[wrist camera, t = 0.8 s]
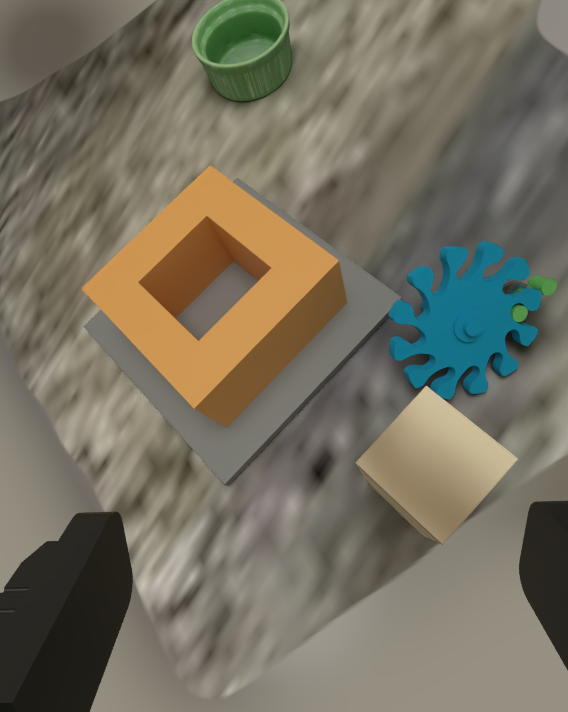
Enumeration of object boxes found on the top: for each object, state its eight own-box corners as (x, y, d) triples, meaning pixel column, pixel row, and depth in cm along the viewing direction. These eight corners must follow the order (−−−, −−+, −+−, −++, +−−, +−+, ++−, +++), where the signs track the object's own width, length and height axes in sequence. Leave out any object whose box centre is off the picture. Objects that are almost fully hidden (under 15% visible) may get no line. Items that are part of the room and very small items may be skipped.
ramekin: (224, 122, 44) (208, 82, 40) (197, 63, 48) (179, 21, 44) (312, 80, 44) (304, 35, 40) (278, 24, 47) (267, -23, 43)
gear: (413, 425, 30) (379, 277, 26) (378, 387, 35) (346, 261, 31) (569, 365, 30) (559, 213, 27) (512, 337, 36) (496, 207, 32)
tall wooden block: (413, 433, 31) (426, 385, 20) (470, 482, 30) (518, 458, 18) (367, 483, 31) (355, 462, 20) (422, 535, 29) (442, 544, 18)
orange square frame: (240, 185, 41) (212, 122, 35) (401, 303, 34) (404, 253, 28) (90, 331, 39) (31, 293, 33) (229, 485, 33) (189, 477, 26)
